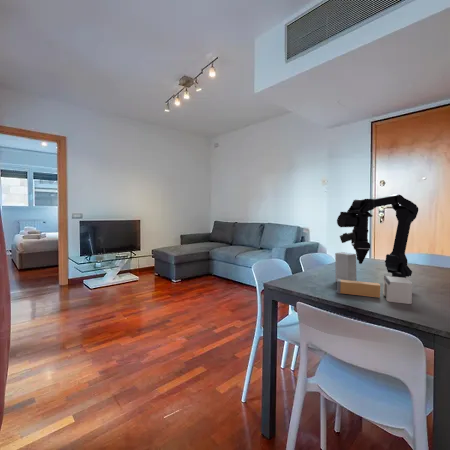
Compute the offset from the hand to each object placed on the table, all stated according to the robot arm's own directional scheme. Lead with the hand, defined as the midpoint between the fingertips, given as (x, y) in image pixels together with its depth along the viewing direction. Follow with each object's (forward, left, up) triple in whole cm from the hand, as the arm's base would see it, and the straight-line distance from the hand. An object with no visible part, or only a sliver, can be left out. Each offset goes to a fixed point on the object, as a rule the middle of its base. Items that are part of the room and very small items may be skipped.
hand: (359, 261), depth 121 cm
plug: (+7, -1, -13) cm, 15 cm away
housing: (+7, +13, -13) cm, 20 cm away
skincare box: (-12, -5, -13) cm, 19 cm away
